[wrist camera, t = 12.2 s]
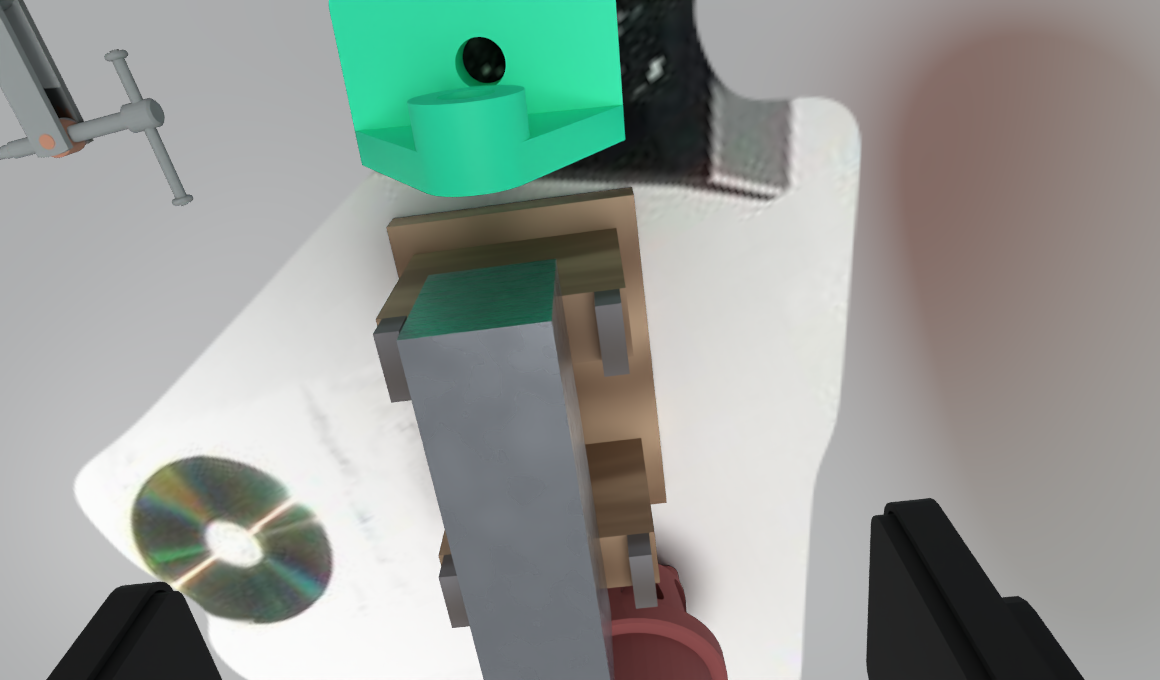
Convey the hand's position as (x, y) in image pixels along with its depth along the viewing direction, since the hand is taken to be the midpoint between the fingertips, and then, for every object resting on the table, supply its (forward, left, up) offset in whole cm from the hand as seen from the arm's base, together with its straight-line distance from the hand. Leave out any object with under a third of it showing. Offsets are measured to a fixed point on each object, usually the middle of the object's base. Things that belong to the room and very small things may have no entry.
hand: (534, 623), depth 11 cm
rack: (+11, -3, -30) cm, 32 cm away
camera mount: (-5, -3, -31) cm, 31 cm away
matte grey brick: (+11, -3, -21) cm, 24 cm away
